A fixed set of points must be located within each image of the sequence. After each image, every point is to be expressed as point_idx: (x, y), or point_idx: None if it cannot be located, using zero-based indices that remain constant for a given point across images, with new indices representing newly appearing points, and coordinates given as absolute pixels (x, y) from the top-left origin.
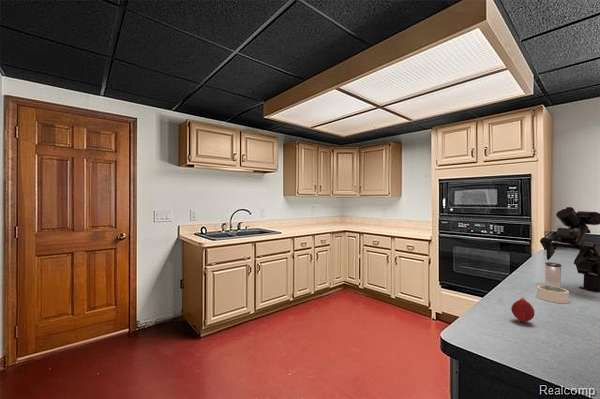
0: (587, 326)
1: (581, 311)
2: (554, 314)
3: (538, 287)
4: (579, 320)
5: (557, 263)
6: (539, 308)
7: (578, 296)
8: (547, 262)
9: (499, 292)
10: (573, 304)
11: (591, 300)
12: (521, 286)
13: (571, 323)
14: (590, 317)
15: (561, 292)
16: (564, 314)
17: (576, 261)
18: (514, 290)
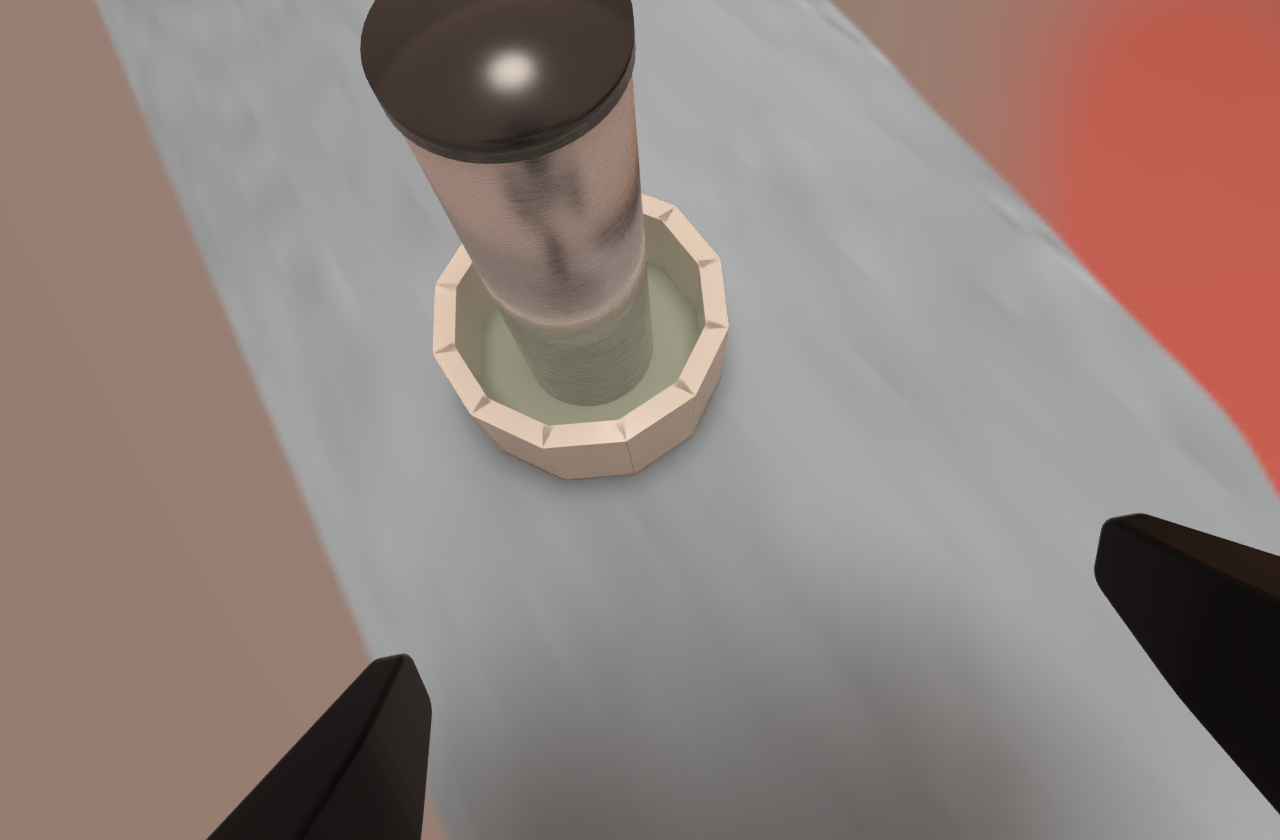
0: (156, 60)
1: (304, 285)
2: (348, 50)
3: (657, 203)
4: (222, 102)
5: (483, 124)
6: None
7: (590, 778)
8: (616, 20)
9: (845, 66)
10: (429, 400)
11: (445, 763)
12: (1040, 452)
13: (222, 18)
14: (213, 223)
15: (457, 271)
16: (321, 109)
17: (331, 719)
18: (892, 240)
